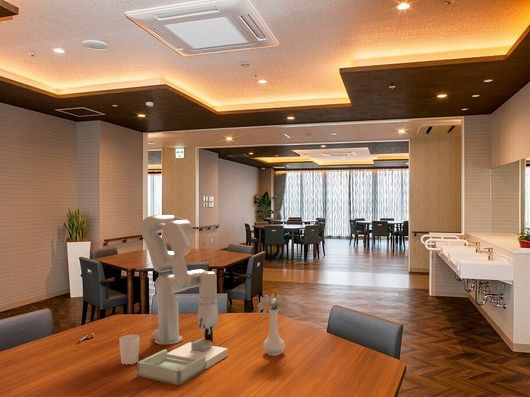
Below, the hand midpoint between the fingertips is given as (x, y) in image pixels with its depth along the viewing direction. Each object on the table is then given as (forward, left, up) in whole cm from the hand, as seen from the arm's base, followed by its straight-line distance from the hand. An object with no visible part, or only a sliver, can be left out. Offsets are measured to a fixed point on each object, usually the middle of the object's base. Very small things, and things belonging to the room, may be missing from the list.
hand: (208, 342), depth 185 cm
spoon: (-63, -14, -5) cm, 65 cm away
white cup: (-23, -23, -4) cm, 33 cm away
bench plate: (0, -8, -4) cm, 9 cm away
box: (0, -25, -4) cm, 25 cm away
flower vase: (+26, +11, -4) cm, 28 cm away
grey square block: (0, -5, -1) cm, 6 cm away
